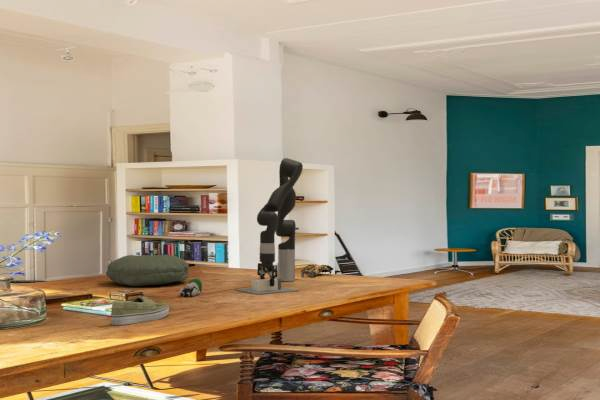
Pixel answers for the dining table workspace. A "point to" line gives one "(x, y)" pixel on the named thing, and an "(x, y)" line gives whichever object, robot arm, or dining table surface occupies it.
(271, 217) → the robot arm
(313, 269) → the figurine
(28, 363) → the dining table surface
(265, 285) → the cream block
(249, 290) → the slate mat
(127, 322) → the boat shoe
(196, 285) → the toy
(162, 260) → the pillow
